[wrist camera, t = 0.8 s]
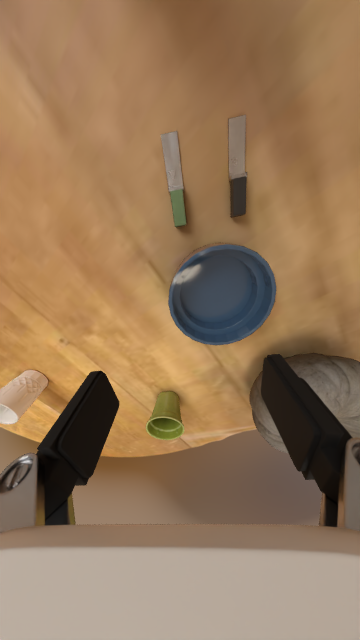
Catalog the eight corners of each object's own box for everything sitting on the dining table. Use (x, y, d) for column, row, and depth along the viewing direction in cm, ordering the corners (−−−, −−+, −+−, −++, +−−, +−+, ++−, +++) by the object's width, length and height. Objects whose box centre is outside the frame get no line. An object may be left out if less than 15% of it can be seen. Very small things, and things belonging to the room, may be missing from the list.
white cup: (30, 363, 42) (-12, 397, 33) (56, 380, 45) (24, 416, 36) (15, 376, 45) (-28, 410, 36) (41, 392, 47) (7, 428, 38)
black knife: (243, 215, 26) (246, 213, 24) (229, 217, 26) (232, 216, 25) (245, 115, 21) (250, 105, 19) (228, 119, 21) (231, 110, 20)
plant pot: (146, 401, 48) (139, 432, 40) (161, 381, 44) (156, 412, 36) (174, 411, 50) (172, 443, 42) (190, 394, 46) (191, 426, 38)
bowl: (163, 251, 29) (158, 255, 23) (264, 235, 27) (283, 234, 22) (178, 333, 37) (177, 349, 31) (257, 323, 35) (270, 339, 30)
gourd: (234, 352, 35) (295, 444, 20) (343, 318, 35) (481, 385, 21) (240, 410, 48) (279, 492, 34) (319, 386, 49) (392, 456, 34)
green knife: (187, 224, 27) (187, 224, 25) (174, 227, 27) (173, 226, 25) (177, 131, 22) (176, 123, 20) (161, 135, 22) (159, 127, 20)
